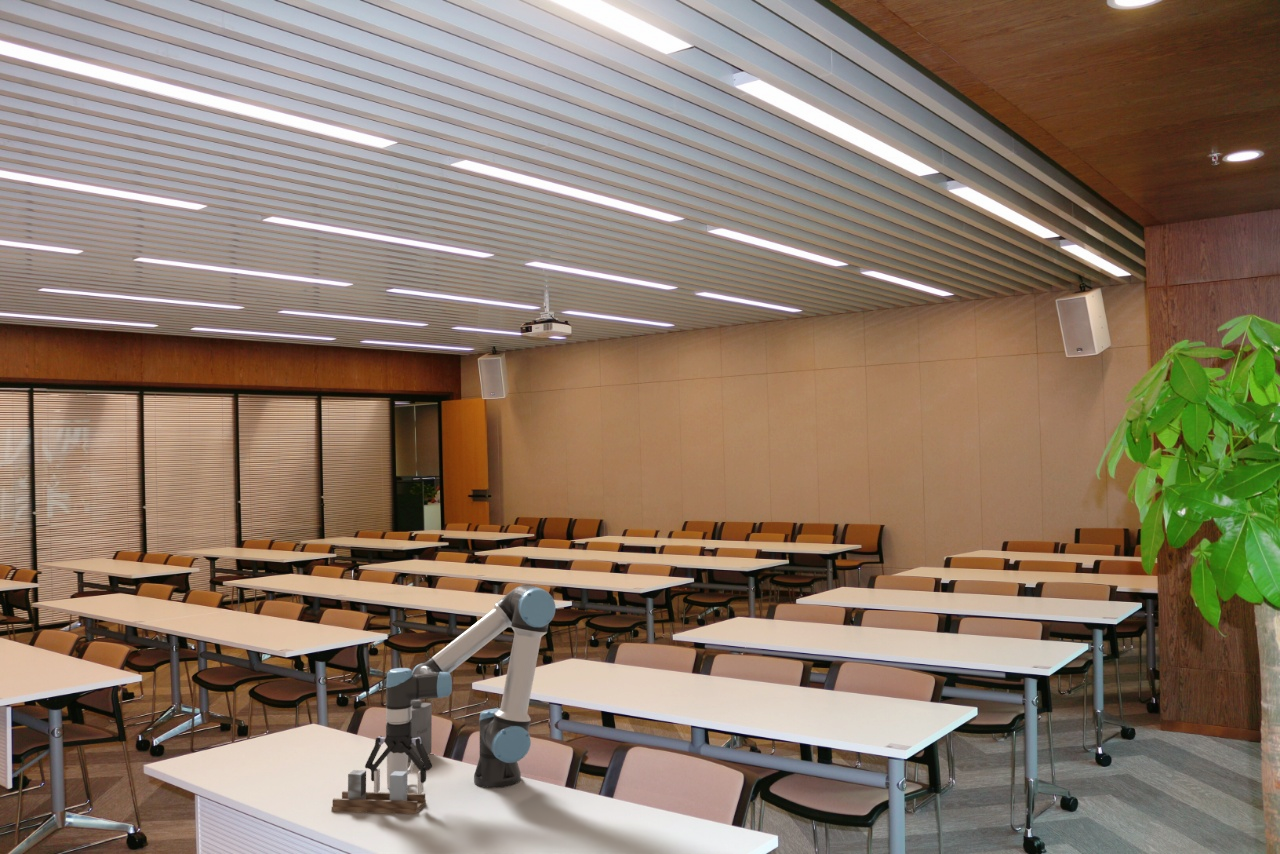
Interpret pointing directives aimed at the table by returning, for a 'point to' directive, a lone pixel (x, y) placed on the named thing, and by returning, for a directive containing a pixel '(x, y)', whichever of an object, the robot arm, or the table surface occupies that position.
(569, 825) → the table surface
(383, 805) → the rail
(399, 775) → the block
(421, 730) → the flask
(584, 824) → the table surface
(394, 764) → the mug
